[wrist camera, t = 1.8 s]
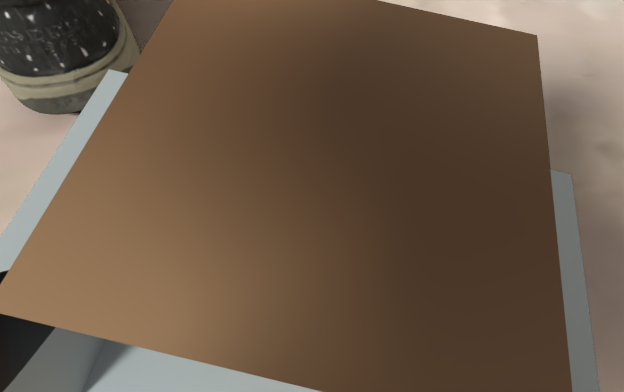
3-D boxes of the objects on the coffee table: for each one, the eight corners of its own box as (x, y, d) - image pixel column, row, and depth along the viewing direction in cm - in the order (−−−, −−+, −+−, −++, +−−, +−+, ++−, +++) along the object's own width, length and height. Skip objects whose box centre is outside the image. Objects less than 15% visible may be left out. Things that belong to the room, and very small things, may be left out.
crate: (473, 496, 14) (626, 597, 8) (55, 393, 15) (-114, 412, 8) (475, 237, 19) (571, 174, 13) (163, 165, 20) (108, 69, 13)
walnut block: (330, 382, 15) (578, 452, 3) (228, 358, 15) (-15, 309, 3) (348, 279, 17) (537, 35, 5) (257, 258, 17) (197, -39, 5)
